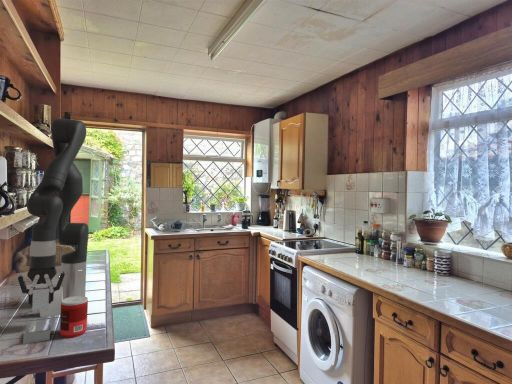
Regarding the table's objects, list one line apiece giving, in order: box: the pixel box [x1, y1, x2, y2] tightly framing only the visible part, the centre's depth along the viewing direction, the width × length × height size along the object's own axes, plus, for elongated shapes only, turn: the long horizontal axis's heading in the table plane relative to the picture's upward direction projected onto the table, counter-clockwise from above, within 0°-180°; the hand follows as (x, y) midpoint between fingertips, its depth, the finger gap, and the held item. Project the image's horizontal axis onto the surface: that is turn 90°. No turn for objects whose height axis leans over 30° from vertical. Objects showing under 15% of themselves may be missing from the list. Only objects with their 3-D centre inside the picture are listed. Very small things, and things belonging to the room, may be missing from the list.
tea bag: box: [39, 287, 63, 318], centre depth 126 cm, size 4×7×10 cm, turn 115°
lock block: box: [31, 284, 50, 312], centre depth 115 cm, size 6×5×7 cm
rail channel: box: [22, 325, 52, 345], centre depth 107 cm, size 9×7×3 cm
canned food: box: [59, 296, 89, 339], centre depth 110 cm, size 8×8×11 cm
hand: (40, 303), depth 115 cm, fingers closed on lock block, 4 cm apart
